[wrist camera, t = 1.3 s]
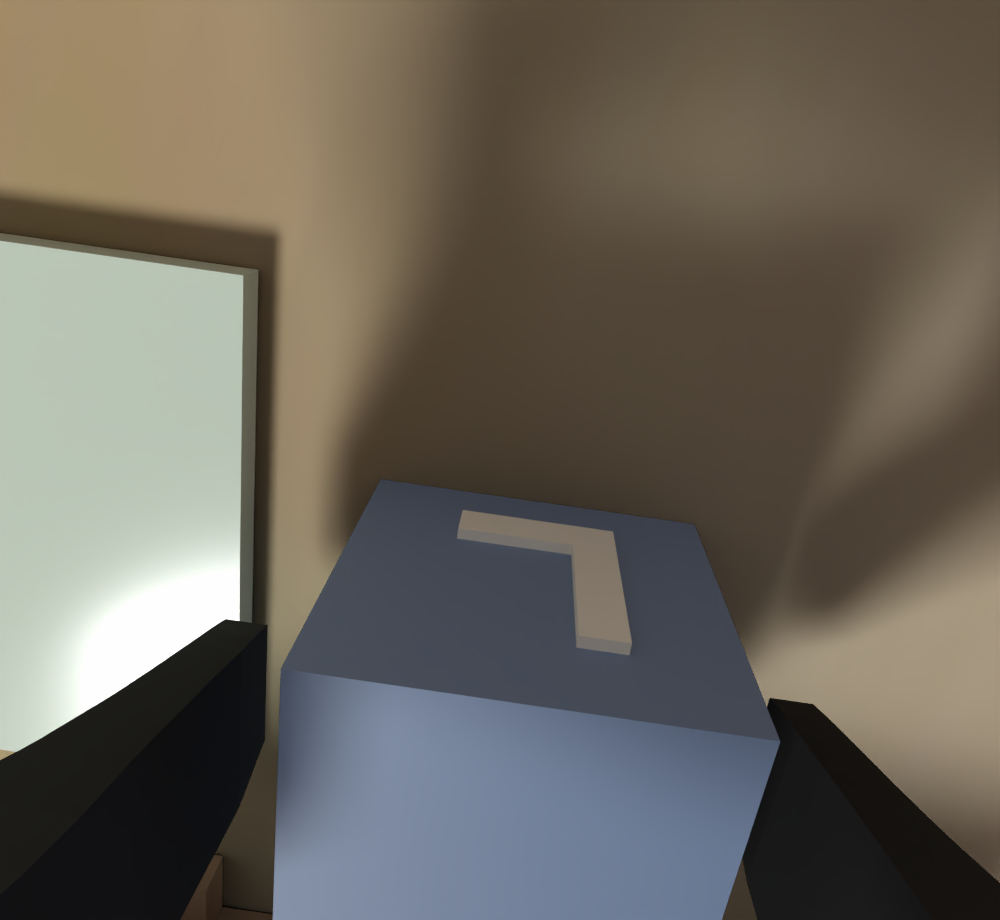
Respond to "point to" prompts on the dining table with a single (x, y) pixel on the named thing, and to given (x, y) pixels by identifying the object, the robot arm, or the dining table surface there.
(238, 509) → the tile
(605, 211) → the dining table surface
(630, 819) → the cube
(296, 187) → the dining table surface
